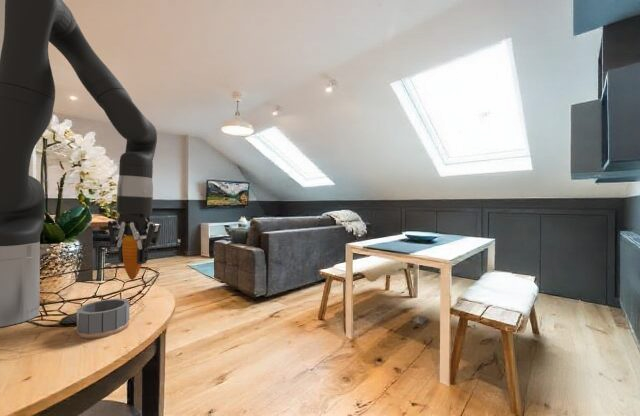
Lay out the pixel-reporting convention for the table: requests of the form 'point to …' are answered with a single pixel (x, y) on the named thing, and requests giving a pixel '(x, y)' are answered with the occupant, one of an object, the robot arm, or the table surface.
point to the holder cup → (102, 318)
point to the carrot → (130, 255)
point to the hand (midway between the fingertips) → (132, 262)
